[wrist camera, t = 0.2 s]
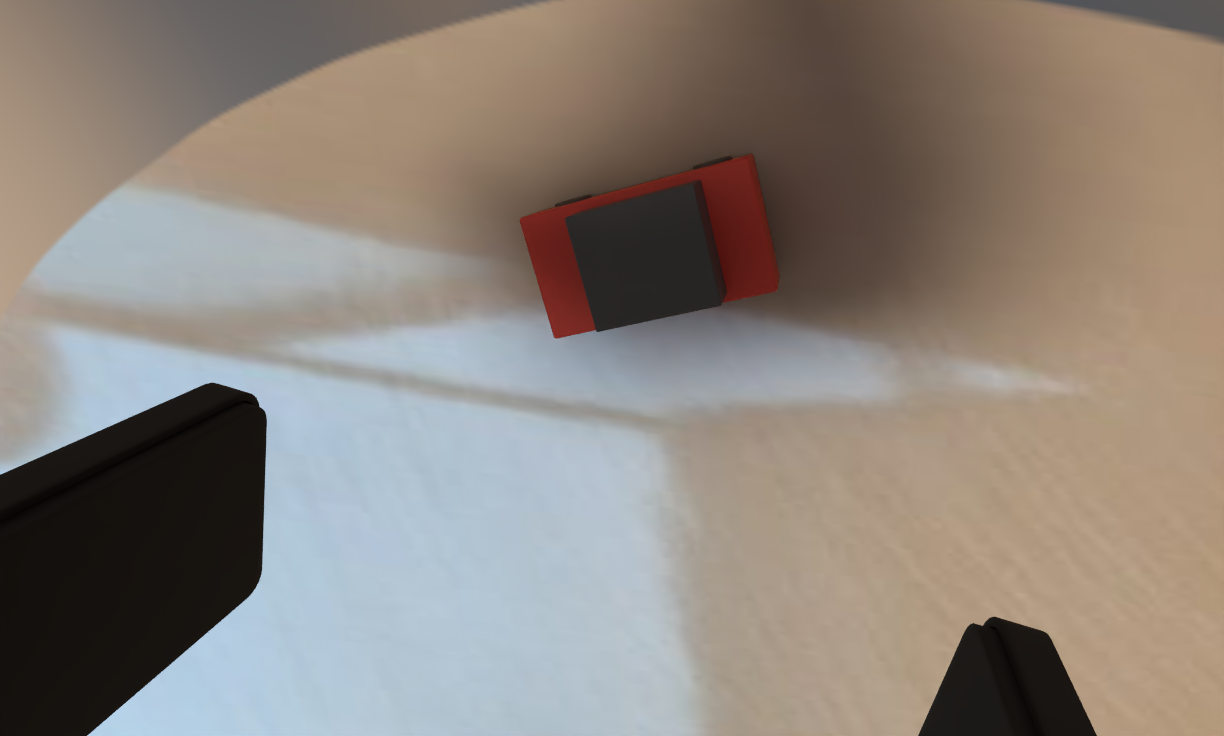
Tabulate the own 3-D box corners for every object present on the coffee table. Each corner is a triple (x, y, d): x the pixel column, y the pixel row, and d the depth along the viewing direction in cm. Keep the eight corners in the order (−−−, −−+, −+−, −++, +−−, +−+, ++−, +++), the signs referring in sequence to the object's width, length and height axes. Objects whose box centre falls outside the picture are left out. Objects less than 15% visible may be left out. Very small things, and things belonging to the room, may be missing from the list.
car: (753, 149, 26) (743, 155, 22) (781, 277, 27) (776, 307, 23) (544, 206, 29) (497, 222, 24) (577, 322, 30) (538, 356, 25)
